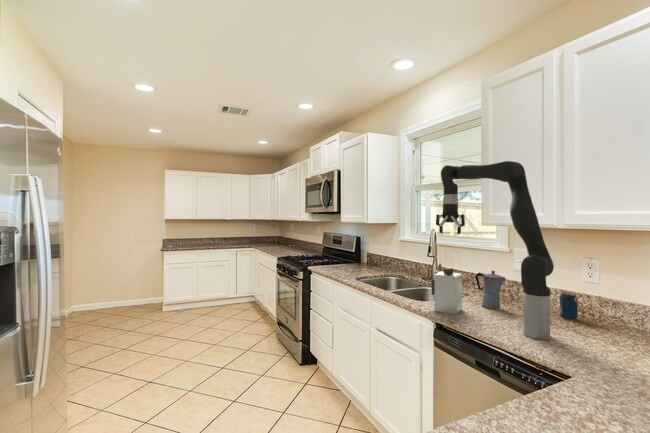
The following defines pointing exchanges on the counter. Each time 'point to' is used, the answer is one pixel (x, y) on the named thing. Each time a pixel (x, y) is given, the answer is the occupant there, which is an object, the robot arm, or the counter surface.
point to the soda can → (568, 306)
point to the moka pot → (491, 289)
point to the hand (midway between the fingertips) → (449, 233)
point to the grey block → (447, 292)
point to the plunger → (448, 271)
